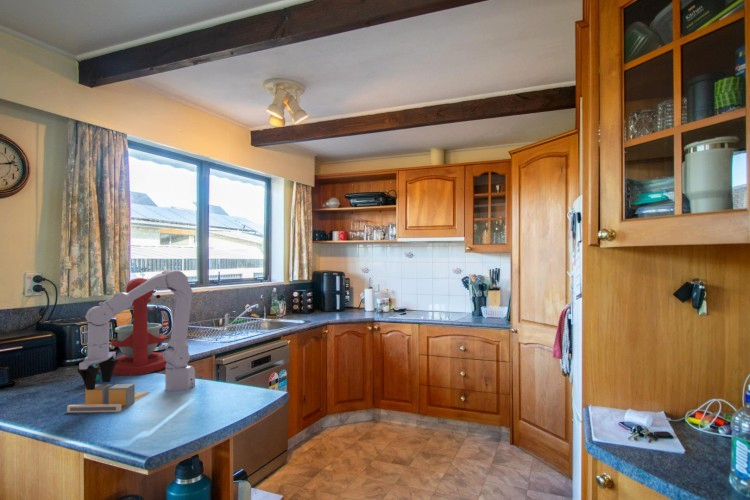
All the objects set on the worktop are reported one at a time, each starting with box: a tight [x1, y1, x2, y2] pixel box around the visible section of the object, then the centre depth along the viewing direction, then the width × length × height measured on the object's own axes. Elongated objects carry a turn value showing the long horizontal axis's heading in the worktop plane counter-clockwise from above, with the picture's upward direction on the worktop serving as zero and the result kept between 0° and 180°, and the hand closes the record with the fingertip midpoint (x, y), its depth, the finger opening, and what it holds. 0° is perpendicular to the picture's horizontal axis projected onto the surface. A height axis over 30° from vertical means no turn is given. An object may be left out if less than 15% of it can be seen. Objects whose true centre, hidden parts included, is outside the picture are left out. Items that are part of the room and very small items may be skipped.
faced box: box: [108, 383, 136, 408], centre depth 130 cm, size 6×4×6 cm
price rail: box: [66, 404, 122, 413], centre depth 124 cm, size 16×1×2 cm, turn 91°
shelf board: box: [66, 391, 152, 414], centre depth 133 cm, size 16×18×1 cm
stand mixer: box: [110, 277, 167, 376], centre depth 181 cm, size 24×32×40 cm
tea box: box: [84, 383, 113, 405], centre depth 130 cm, size 6×4×6 cm
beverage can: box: [85, 344, 103, 382], centre depth 159 cm, size 6×6×15 cm
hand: (98, 385), depth 130 cm, fingers open, 7 cm apart
